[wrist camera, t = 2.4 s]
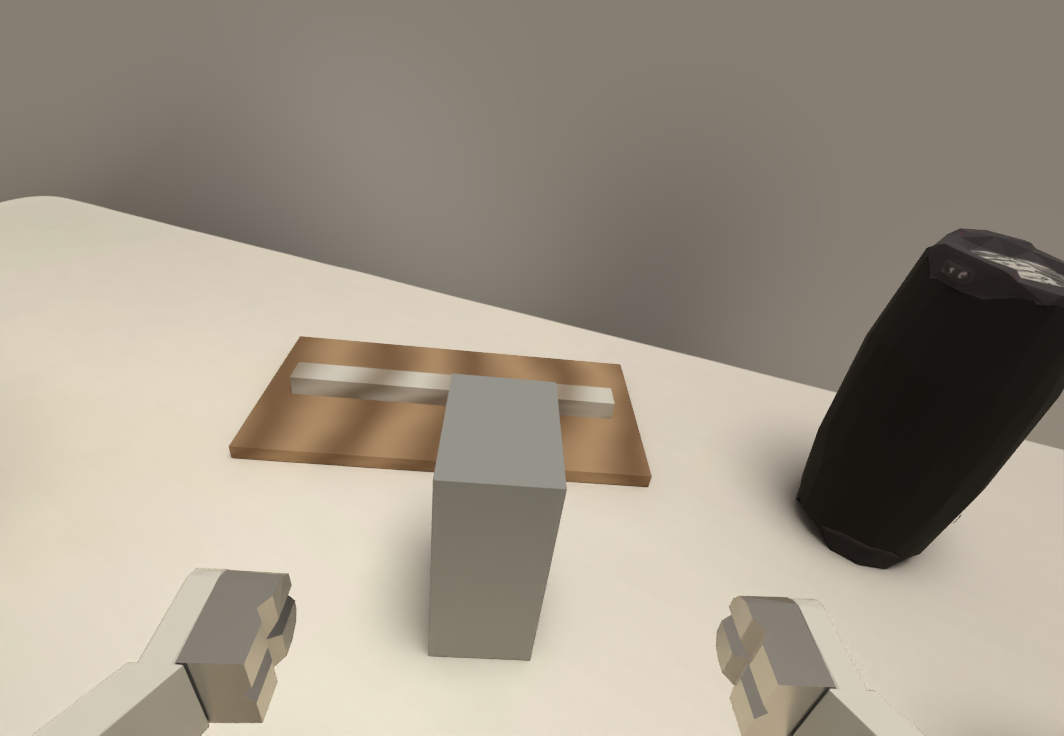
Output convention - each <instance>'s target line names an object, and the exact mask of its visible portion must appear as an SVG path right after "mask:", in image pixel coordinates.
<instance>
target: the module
mask: <svg viewBox="0 0 1064 736" xmlns="http://www.w3.org/2000/svg"><path fill="white" fill-rule="evenodd" d="M566 490H567V487H566V477H565V467H564V457H563V446H562V436H561V426H560V416H559V406H558V396H557V385H556V382H547V381H535V380H523V379H512V378H500V377H488V376H476V375H464V374H453V373H452V376H451V382H450V388H449V393H448V399H447V404H446V410H445V416H444V421H443V427H442V432H441V438H440V444H439V449H438V455H437V460H436V466H435V472H434V477H433V499H432V539H431V579H430V619H429V656H442V657H465V658H488V659H512V660H530V659H531V654H532V649H533V645H534V640H535V635H536V631H537V626H538V621H539V617H540V612H541V607H542V603H543V598H544V593H545V589H546V584H547V579H548V575H549V570H550V565H551V561H552V556H553V551H554V547H555V542H556V537H557V533H558V528H559V523H560V518H561V514H562V509H563V504H564V500H565V495H566Z"/></svg>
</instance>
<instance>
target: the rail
mask: <svg viewBox="0 0 1064 736" xmlns="http://www.w3.org/2000/svg"><path fill="white" fill-rule="evenodd" d="M452 373H453V374H464V375H476V376H488V377H500V378H512V379H523V380H535V381H547V382H556V385H557V396H558V406H559V416H560V426H561V436H562V446H563V457H564V467H565V477H566V481H572V482H586V483H600V484H615V485H629V486H643V487H648V486H649V483H650V480H651V477H652V476H651V473H650V469H649V466H648V462H647V458H646V455H645V451H644V448H643V444H642V441H641V437H640V433H639V430H638V426H637V423H636V419H635V415H634V412H633V408H632V405H631V401H630V398H629V394H628V390H627V387H626V383H625V380H624V376H623V372H622V369H621V365H619V364H608V363H596V362H585V361H574V360H562V359H551V358H540V357H528V356H517V355H506V354H494V353H483V352H471V351H460V350H449V349H437V348H426V347H415V346H403V345H392V344H381V343H369V342H358V341H347V340H335V339H324V338H313V337H301V336H300V338H299V339H298V341H297V342H296V344H295V345H294V347H293V348H292V350H291V351H290V353H289V354H288V356H287V358H286V359H285V361H284V362H283V364H282V365H281V367H280V368H279V370H278V371H277V373H276V374H275V376H274V378H273V379H272V381H271V382H270V384H269V385H268V387H267V388H266V390H265V391H264V393H263V394H262V396H261V398H260V399H259V401H258V402H257V404H256V405H255V407H254V408H253V410H252V411H251V413H250V414H249V416H248V418H247V419H246V421H245V422H244V424H243V425H242V427H241V428H240V430H239V431H238V433H237V434H236V436H235V437H234V439H233V441H232V442H231V444H230V445H229V449H230V453H231V457H232V458H243V459H257V460H272V461H286V462H300V463H315V464H329V465H343V466H357V467H372V468H386V469H400V470H415V471H429V472H435V466H436V460H437V455H438V449H439V444H440V438H441V432H442V427H443V421H444V416H445V410H446V404H447V399H448V393H449V388H450V382H451V376H452Z"/></svg>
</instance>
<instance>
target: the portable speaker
mask: <svg viewBox="0 0 1064 736" xmlns="http://www.w3.org/2000/svg"><path fill="white" fill-rule="evenodd" d="M1063 389H1064V261H1062V260H1060V259H1057V258H1055V257H1053V256H1051V255H1049V254H1046V253H1044V252H1042V251H1040V250H1037V249H1036V248H1035V247H1034V246H1033V245H1032V244H1031V243H1030V242H1027V241H1025V240H1021V239H1018V238H1013V237H1010V236H1006V235H1002V234H998V233H994V232H991V231H987V230H976V229H958V230H956V231H954V232H952V233H949V234H947V235H946V236H945V237H944V238H942V239H941V240H940V241H939V242H937V243H936V244H935V245H934V246H931V247H928V248H926V250H925V251H924V253H923V254H922V256H921V257H920V259H919V260H918V261H917V263H916V264H915V266H914V267H913V269H912V270H911V271H910V273H909V275H908V276H907V277H906V279H905V280H904V282H903V283H902V285H901V286H900V287H899V289H898V290H897V292H896V293H895V295H894V296H893V297H892V299H891V300H890V302H889V303H888V305H887V306H886V308H885V309H884V311H883V312H882V313H881V315H880V316H879V318H878V319H877V321H876V322H875V323H874V325H873V327H872V328H871V329H870V331H869V332H868V333H867V335H866V337H865V339H864V341H863V343H862V345H861V347H860V349H859V351H858V353H857V355H856V357H855V359H854V361H853V362H852V364H851V366H850V368H849V370H848V372H847V374H846V376H845V378H844V380H843V382H842V384H841V386H840V388H839V390H838V392H837V394H836V396H835V398H834V400H833V402H832V404H831V406H830V407H829V409H828V411H827V413H826V415H825V417H824V419H823V421H822V423H821V425H820V427H819V429H818V432H817V435H816V438H815V440H814V443H813V446H812V449H811V452H810V455H809V457H808V460H807V463H806V466H805V469H804V472H803V475H802V479H801V485H800V488H799V492H798V495H797V498H796V499H797V500H801V502H802V504H803V506H804V508H805V509H806V510H807V512H808V513H809V514H810V515H811V517H812V518H813V520H814V521H815V523H816V524H817V526H818V527H819V528H820V530H821V532H822V534H823V536H824V538H825V540H826V542H827V544H828V546H829V548H830V550H832V551H834V552H836V553H838V554H840V555H842V556H844V557H846V558H848V559H850V560H853V561H855V562H857V563H859V564H863V565H869V566H875V567H880V568H888V567H890V566H892V565H894V564H896V563H898V562H900V561H902V560H904V559H907V558H910V557H912V556H915V555H918V554H920V553H921V552H922V551H923V550H924V549H925V548H926V547H927V546H928V545H929V544H930V543H931V542H932V541H933V540H934V539H935V538H936V537H937V536H938V535H939V534H940V533H941V532H942V531H943V530H944V529H945V528H946V527H947V526H948V525H949V524H950V523H951V522H952V521H953V520H954V519H955V518H956V517H957V516H958V515H959V514H960V513H961V512H962V511H963V510H964V509H965V508H966V507H967V506H968V505H969V504H970V503H971V502H972V501H973V500H974V499H975V498H976V497H977V496H978V495H979V494H980V493H981V492H982V491H983V490H984V489H985V488H986V486H987V485H988V484H989V483H990V482H991V480H992V479H993V478H994V477H995V475H996V474H997V473H998V472H999V470H1000V469H1001V468H1002V467H1003V465H1004V464H1005V463H1006V462H1007V460H1008V459H1009V458H1010V457H1011V456H1012V454H1013V453H1014V452H1015V451H1016V449H1017V448H1018V447H1019V446H1020V444H1021V443H1022V442H1023V441H1024V439H1025V438H1026V437H1027V436H1028V434H1029V433H1030V432H1031V431H1032V429H1033V428H1034V427H1035V426H1036V424H1037V423H1038V422H1039V421H1040V420H1041V418H1042V417H1043V416H1044V415H1045V413H1046V412H1047V411H1048V410H1049V408H1050V407H1051V406H1052V405H1053V403H1054V402H1055V401H1056V400H1057V399H1058V397H1059V396H1060V394H1061V392H1062V391H1063ZM961 515H962V514H961ZM961 515H960V516H961ZM960 516H959V517H960Z"/></svg>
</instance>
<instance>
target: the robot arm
mask: <svg viewBox="0 0 1064 736" xmlns="http://www.w3.org/2000/svg"><path fill="white" fill-rule="evenodd" d="M290 588H291V581H290V577H289V574H287V573H271V572H254V571H238V570H228V569H207V568H196V569H195V570H194V571H193V572H192V573H191V574H190V575H189V576H188V577H187V578H186V579H185V581H184V583H183V585H182V586H181V588H180V590H179V591H178V593H177V595H176V597H175V598H174V600H173V602H172V604H171V605H170V607H169V609H168V610H167V612H166V614H165V616H164V617H163V619H162V621H161V623H160V624H159V626H158V628H157V629H156V631H155V633H154V635H153V636H152V638H151V640H150V641H149V643H148V645H147V647H146V648H145V650H144V652H143V654H142V655H141V657H140V659H139V660H138V662H137V663H126V664H125V665H124V666H122V667H121V668H120V669H118V670H117V671H116V672H114V673H113V674H112V675H110V676H109V677H108V678H107V679H105V680H104V681H103V682H101V683H100V684H99V685H97V686H96V687H95V688H93V689H92V690H91V691H89V692H88V693H87V694H85V695H84V696H83V697H81V698H80V699H79V700H78V701H76V702H75V703H74V704H72V705H71V706H70V707H68V708H67V709H66V710H64V711H63V712H62V713H60V714H59V715H58V716H56V717H55V718H54V719H52V720H51V721H50V722H48V723H47V724H46V725H45V726H43V727H42V728H41V729H39V730H38V731H37V732H35V733H34V734H33V735H31V736H201V735H202V734H203V733H204V732H205V731H206V730H207V728H208V727H209V723H263V721H264V718H265V715H266V712H267V710H268V707H269V704H270V701H271V699H272V696H273V693H274V690H275V687H276V685H277V682H278V681H277V677H276V673H275V669H274V667H275V666H276V665H277V664H278V663H279V662H280V661H281V660H282V659H283V658H285V657H286V656H287V653H288V651H289V648H290V645H291V642H292V639H293V634H294V629H295V624H296V605H295V600H293V599H292V598H291V597H290V596H288V593H289V591H290ZM729 608H730V611H731V614H732V615H730V616H729V617H727V618H725V619H724V620H722V621H721V623H720V626H719V628H718V630H717V638H716V649H717V656H718V660H719V664H720V667H721V671H722V673H723V674H724V675H725V676H726V677H727V678H728V679H729V681H730V682H731V683H732V684H733V685H734V687H733V689H732V692H731V695H730V700H731V703H732V707H733V710H734V713H735V716H736V719H737V723H738V726H739V729H740V732H741V735H742V736H925V735H923V734H922V733H921V732H920V731H919V730H918V729H917V728H916V727H915V726H914V725H912V724H911V723H910V722H909V721H908V720H907V719H906V718H905V717H904V716H902V715H901V714H900V713H899V712H898V711H897V710H896V709H895V708H894V707H893V706H891V705H890V704H889V703H888V702H887V701H886V700H885V699H884V698H883V697H881V696H880V695H879V694H878V693H877V692H876V691H874V690H867V689H866V687H865V685H864V683H863V681H862V680H861V678H860V676H859V674H858V672H857V670H856V668H855V666H854V664H853V662H852V660H851V658H850V656H849V654H848V652H847V650H846V649H845V647H844V645H843V643H842V641H841V639H840V637H839V635H838V633H837V631H836V629H835V627H834V625H833V623H832V621H831V620H830V618H829V616H828V614H827V612H826V610H825V608H824V606H823V605H822V604H821V603H820V602H819V601H818V600H814V599H795V598H787V597H759V596H738V597H736V598H734V599H733V600H732V602H731V604H730V606H729Z"/></svg>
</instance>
